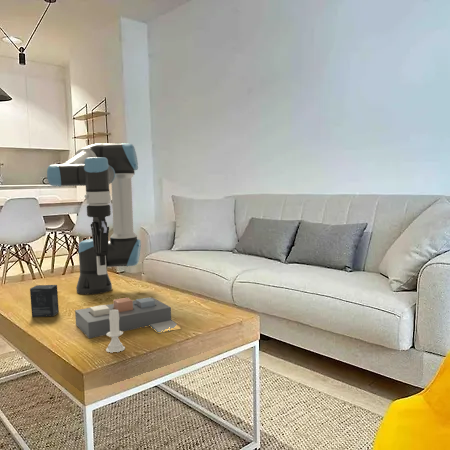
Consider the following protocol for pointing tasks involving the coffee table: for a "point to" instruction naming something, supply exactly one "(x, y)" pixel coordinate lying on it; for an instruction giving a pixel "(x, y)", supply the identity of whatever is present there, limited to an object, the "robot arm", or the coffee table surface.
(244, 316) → the coffee table surface
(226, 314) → the coffee table surface
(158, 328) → the smartphone
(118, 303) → the terracotta key
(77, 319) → the key panel
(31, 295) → the box
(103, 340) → the coffee table surface
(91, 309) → the ivory key
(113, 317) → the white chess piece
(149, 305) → the slate key
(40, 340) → the coffee table surface
